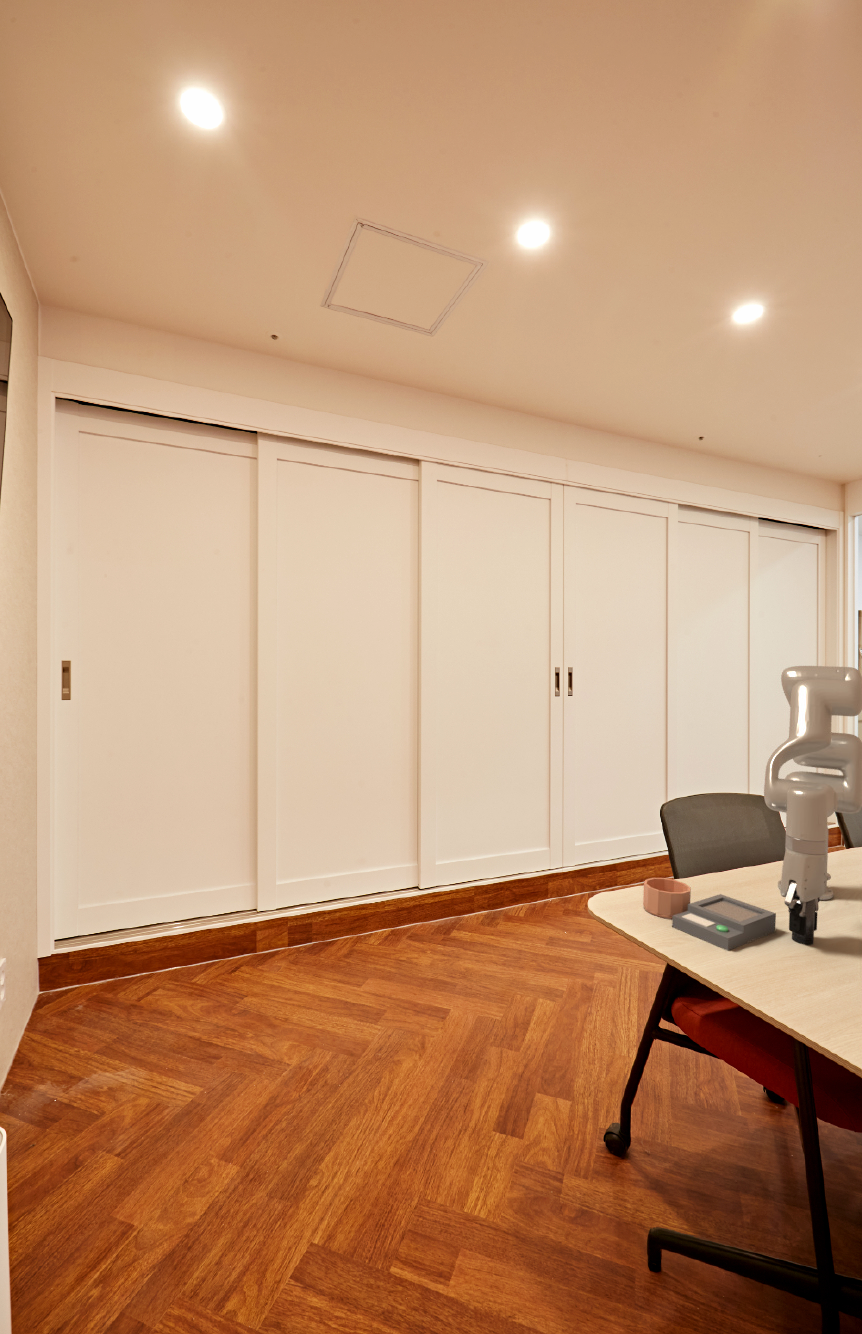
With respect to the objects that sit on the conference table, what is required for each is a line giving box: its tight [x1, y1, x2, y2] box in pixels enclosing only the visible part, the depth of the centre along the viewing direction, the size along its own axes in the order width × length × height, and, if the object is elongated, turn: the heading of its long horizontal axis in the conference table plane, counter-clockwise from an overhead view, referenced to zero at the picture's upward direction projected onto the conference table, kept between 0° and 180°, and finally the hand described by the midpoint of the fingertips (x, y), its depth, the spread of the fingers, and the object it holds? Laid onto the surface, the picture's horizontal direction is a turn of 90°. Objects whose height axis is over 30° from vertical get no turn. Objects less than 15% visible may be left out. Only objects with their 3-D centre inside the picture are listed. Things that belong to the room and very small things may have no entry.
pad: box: [703, 900, 760, 921], centre depth 138 cm, size 9×9×1 cm
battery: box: [791, 896, 816, 946], centre depth 132 cm, size 4×4×10 cm
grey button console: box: [671, 893, 777, 951], centre depth 136 cm, size 18×13×4 cm
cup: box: [642, 877, 692, 920], centre depth 146 cm, size 10×10×6 cm
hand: (802, 929), depth 132 cm, fingers closed on battery, 4 cm apart
